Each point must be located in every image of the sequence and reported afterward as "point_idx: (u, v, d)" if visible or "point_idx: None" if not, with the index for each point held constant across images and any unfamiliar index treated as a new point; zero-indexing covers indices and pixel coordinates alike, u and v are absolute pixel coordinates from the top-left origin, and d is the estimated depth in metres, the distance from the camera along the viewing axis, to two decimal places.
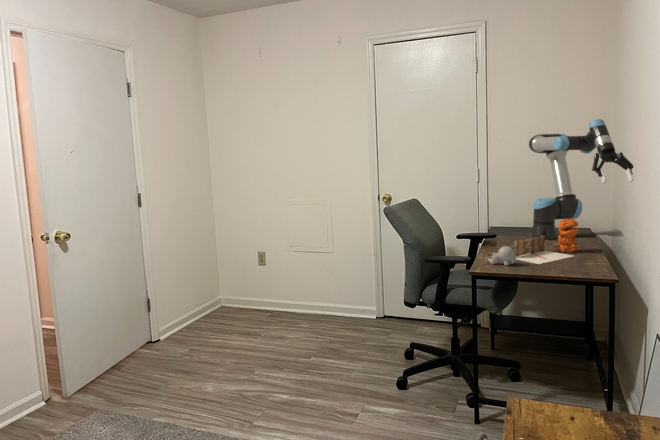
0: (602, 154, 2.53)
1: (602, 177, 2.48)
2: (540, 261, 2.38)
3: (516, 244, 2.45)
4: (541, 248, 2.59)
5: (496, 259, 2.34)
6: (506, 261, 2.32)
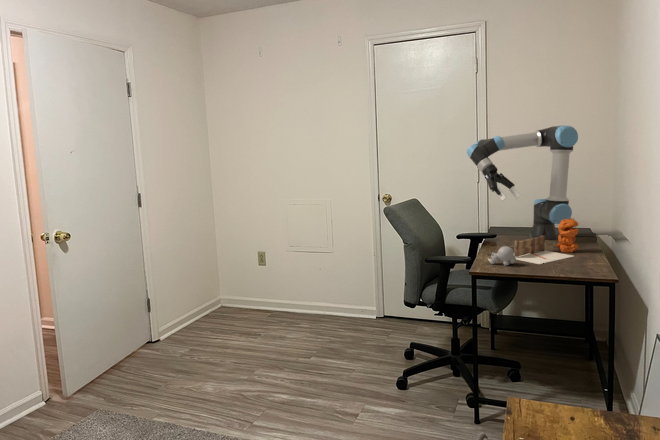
0: None
1: None
2: (540, 261, 2.38)
3: (516, 244, 2.45)
4: (541, 248, 2.59)
5: (496, 259, 2.34)
6: (506, 261, 2.32)
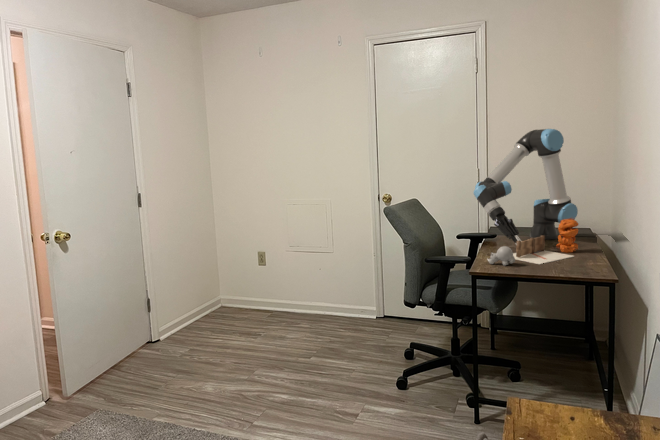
0: None
1: None
2: (540, 261, 2.38)
3: (518, 244, 2.45)
4: (541, 248, 2.59)
5: (495, 259, 2.34)
6: (505, 261, 2.32)
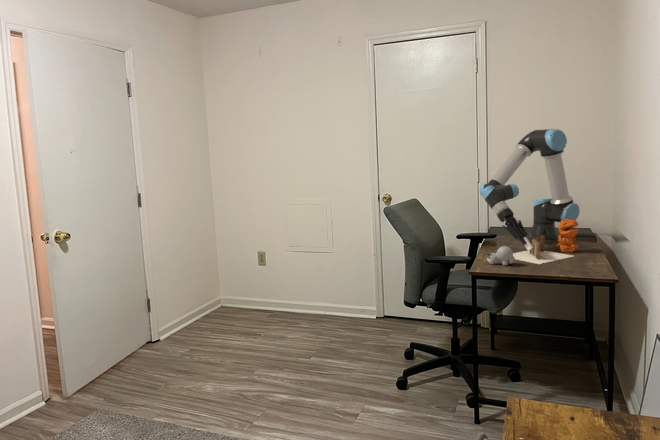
0: None
1: None
2: (540, 261, 2.38)
3: (539, 246, 2.40)
4: (541, 248, 2.59)
5: (495, 259, 2.34)
6: (505, 261, 2.32)
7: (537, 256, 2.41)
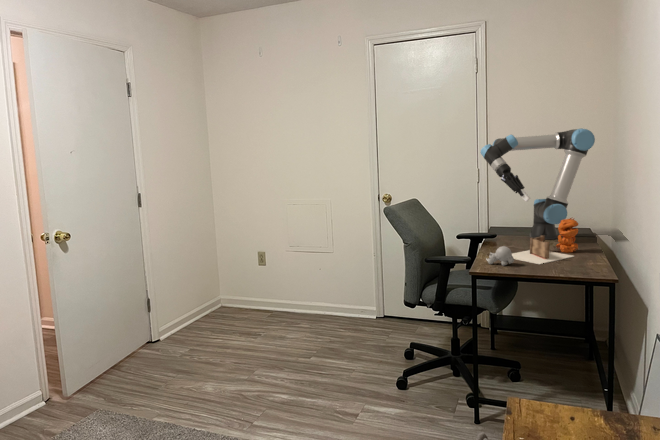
0: None
1: None
2: (540, 261, 2.38)
3: (549, 245, 2.40)
4: None
5: (493, 259, 2.35)
6: (504, 261, 2.32)
7: (547, 256, 2.41)
